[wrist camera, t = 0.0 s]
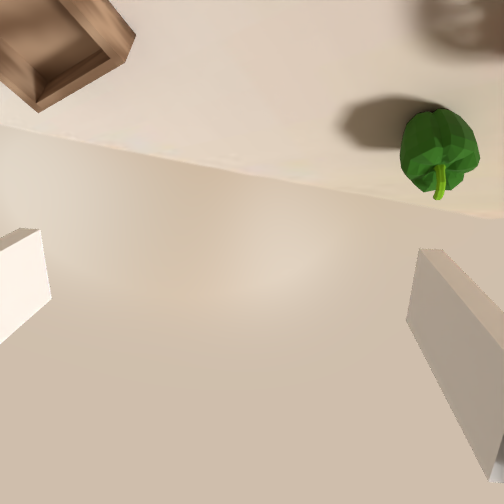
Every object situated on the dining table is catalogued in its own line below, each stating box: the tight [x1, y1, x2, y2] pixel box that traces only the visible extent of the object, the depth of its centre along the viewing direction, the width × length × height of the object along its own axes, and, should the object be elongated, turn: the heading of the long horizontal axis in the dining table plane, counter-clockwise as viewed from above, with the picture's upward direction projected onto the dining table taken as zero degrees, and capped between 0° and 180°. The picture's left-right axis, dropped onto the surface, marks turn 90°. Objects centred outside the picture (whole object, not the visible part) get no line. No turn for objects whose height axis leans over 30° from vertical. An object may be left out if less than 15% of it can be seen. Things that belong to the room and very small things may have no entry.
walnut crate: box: [0, 0, 136, 113], centre depth 42 cm, size 14×14×5 cm
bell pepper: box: [400, 109, 480, 200], centre depth 49 cm, size 8×8×10 cm
